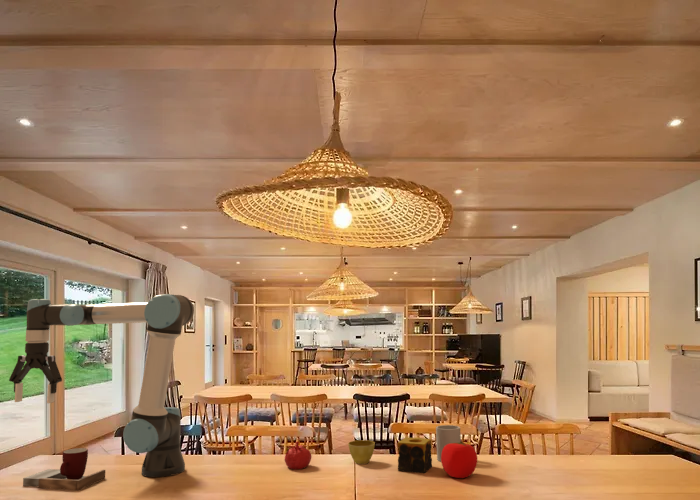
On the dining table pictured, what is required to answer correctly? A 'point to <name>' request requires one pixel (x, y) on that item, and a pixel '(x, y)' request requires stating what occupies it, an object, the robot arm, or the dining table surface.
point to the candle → (414, 455)
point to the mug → (74, 463)
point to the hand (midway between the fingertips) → (34, 402)
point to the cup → (446, 437)
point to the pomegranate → (297, 457)
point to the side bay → (61, 480)
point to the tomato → (459, 459)
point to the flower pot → (361, 450)
